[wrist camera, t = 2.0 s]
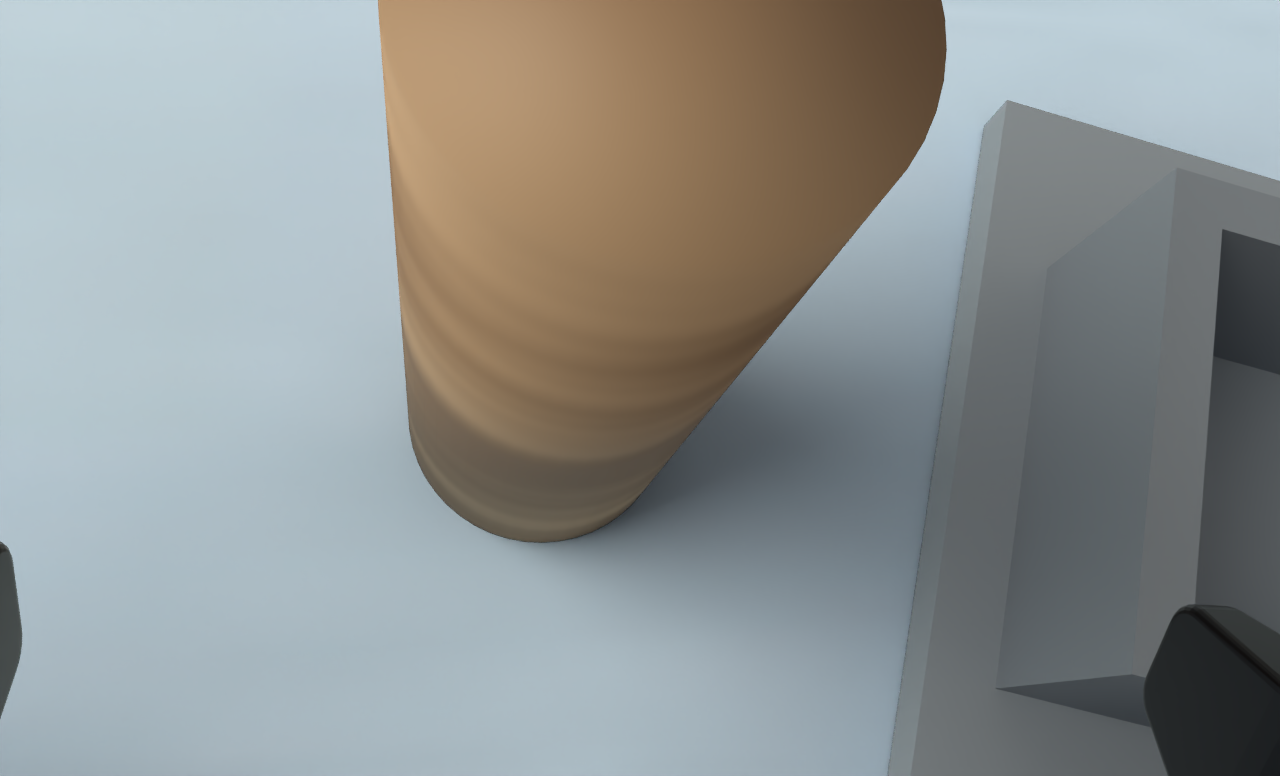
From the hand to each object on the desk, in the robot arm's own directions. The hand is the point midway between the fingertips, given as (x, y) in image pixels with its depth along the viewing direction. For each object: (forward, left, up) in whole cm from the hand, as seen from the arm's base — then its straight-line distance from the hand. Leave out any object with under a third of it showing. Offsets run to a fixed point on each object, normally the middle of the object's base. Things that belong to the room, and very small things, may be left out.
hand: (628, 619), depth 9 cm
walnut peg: (+4, +1, -10) cm, 11 cm away
